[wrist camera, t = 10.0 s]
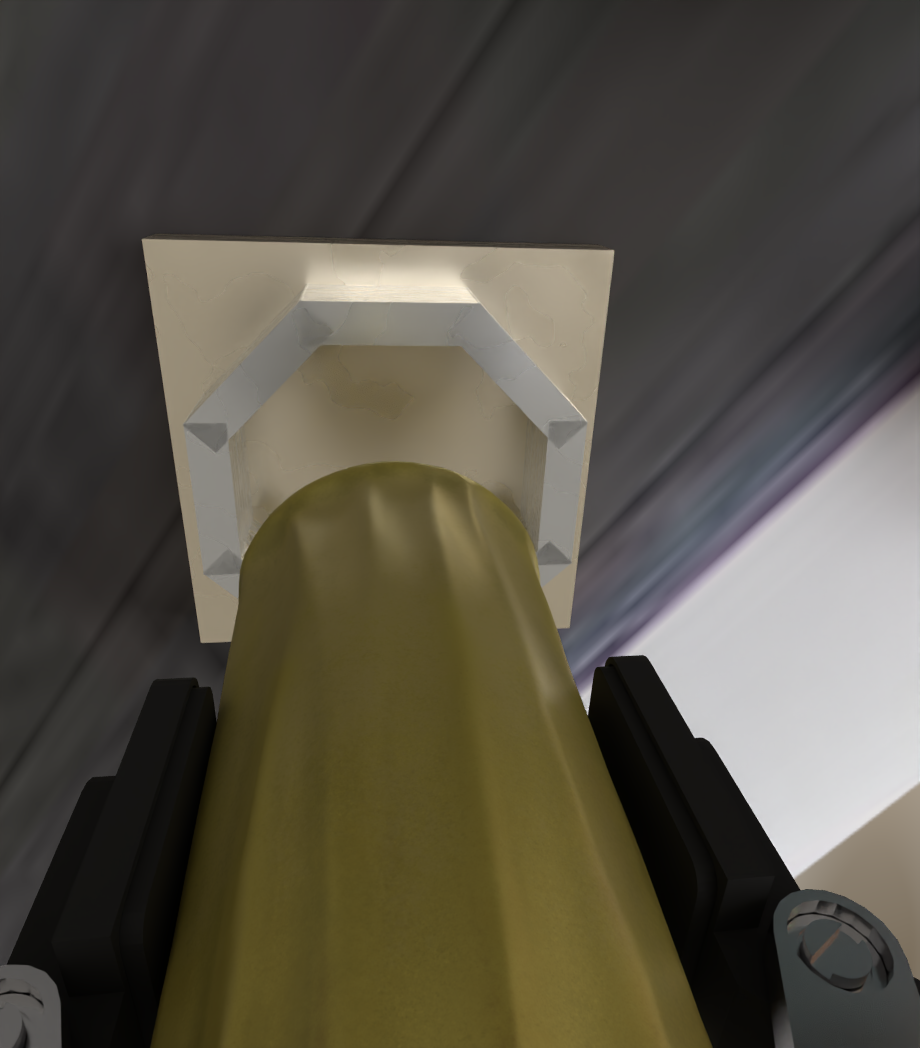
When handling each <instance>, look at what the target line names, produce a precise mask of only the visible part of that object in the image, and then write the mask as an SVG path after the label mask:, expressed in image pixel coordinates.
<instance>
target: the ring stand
mask: <svg viewBox="0 0 920 1048" xmlns="http://www.w3.org/2000/svg"><path fill="white" fill-rule="evenodd" d="M142 243H143V250H144V257H145V264H146V271H147V277H148V284H149V291H150V298H151V305H152V312H153V318H154V325H155V332H156V339H157V346H158V353H159V359H160V366H161V373H162V380H163V387H164V393H165V400H166V407H167V414H168V421H169V428H170V434H171V441H172V448H173V455H174V462H175V469H176V475H177V482H178V489H179V496H180V503H181V510H182V516H183V523H184V530H185V537H186V544H187V551H188V557H189V564H190V571H191V578H192V585H193V592H194V598H195V605H196V612H197V619H198V626H199V633H200V639H201V643H211V642H231V640H232V635H233V630H234V625H235V620H236V615H237V610H238V605H239V602H238V597H239V576H240V568H241V564H242V561H243V557H244V554H245V552H246V551H247V549H248V547H249V545H250V543H251V541H252V540H253V538H254V536H255V535H256V533H257V532H258V530H259V528H260V527H261V526H262V524H263V523H264V522H265V520H266V519H267V518H268V517H269V515H270V514H271V513H272V512H273V511H274V510H275V509H276V508H277V507H278V506H279V505H280V504H282V503H283V502H284V501H285V500H286V499H287V498H288V497H290V496H291V495H292V494H294V493H295V492H296V491H298V490H299V489H301V488H302V487H304V486H306V485H308V484H310V483H311V482H313V481H315V480H317V479H319V478H321V477H324V476H326V475H329V474H331V473H334V472H336V471H339V470H342V469H346V468H349V467H352V466H357V465H361V464H366V463H373V462H381V461H405V462H416V463H422V464H428V465H433V466H438V467H443V468H446V469H449V470H451V471H454V472H457V473H459V474H461V475H464V476H466V477H468V478H470V479H472V480H473V481H475V482H477V483H479V484H480V485H482V486H483V487H485V488H486V489H488V490H489V491H491V492H492V493H493V494H494V495H495V496H497V497H498V498H499V499H500V500H501V501H502V502H503V503H505V504H506V505H507V506H508V507H509V508H510V509H511V510H512V511H513V513H514V514H515V515H516V516H517V518H518V519H519V520H520V521H521V523H522V524H523V526H524V527H525V529H526V530H527V532H528V534H529V536H530V538H531V541H532V543H533V545H534V549H535V552H536V556H537V560H538V566H539V573H540V585H541V587H542V590H543V592H544V595H545V597H546V600H547V602H548V605H549V608H550V610H551V613H552V616H553V619H554V622H555V625H556V628H570V620H571V611H572V603H573V594H574V586H575V578H576V569H577V561H578V553H579V544H580V536H581V527H582V519H583V511H584V502H585V494H586V485H587V477H588V469H589V460H590V452H591V444H592V435H593V427H594V418H595V410H596V402H597V393H598V385H599V376H600V368H601V360H602V351H603V343H604V335H605V326H606V318H607V309H608V301H609V293H610V284H611V276H612V267H613V259H614V251H615V250H612V249H610V248H607V247H604V246H601V245H598V244H559V243H519V242H479V241H439V240H399V239H358V238H318V237H278V236H238V235H197V234H154V235H151V236H149V237H146V238H143V239H142Z"/></svg>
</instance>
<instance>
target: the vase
mask: <svg viewBox="0 0 920 1048" xmlns="http://www.w3.org/2000/svg"><path fill="white" fill-rule="evenodd" d="M238 602H239V605H238V610H237V615H236V620H235V625H234V630H233V635H232V640H231V645H230V651H229V656H228V661H227V667H226V672H225V677H224V683H223V689H222V694H221V700H220V706H219V712H218V719H217V725H216V730H215V734H214V739H213V743H212V748H211V753H210V757H209V762H208V767H207V771H206V776H205V780H204V785H203V790H202V794H201V799H200V804H199V809H198V814H197V819H196V824H195V829H194V834H193V839H192V844H191V849H190V854H189V859H188V864H187V869H186V874H185V880H184V885H183V890H182V895H181V900H180V905H179V911H178V916H177V921H176V926H175V931H174V936H173V941H172V946H171V951H170V956H169V961H168V965H167V970H166V975H165V980H164V984H163V989H162V994H161V998H160V1003H159V1007H158V1012H157V1017H156V1022H155V1027H154V1031H153V1036H152V1041H151V1046H150V1048H713V1047H712V1044H711V1042H710V1039H709V1037H708V1034H707V1032H706V1029H705V1027H704V1024H703V1022H702V1019H701V1017H700V1014H699V1011H698V1008H697V1006H696V1003H695V1000H694V997H693V995H692V992H691V989H690V986H689V983H688V981H687V978H686V975H685V972H684V970H683V967H682V964H681V962H680V959H679V956H678V953H677V951H676V948H675V945H674V942H673V940H672V937H671V934H670V931H669V929H668V926H667V923H666V920H665V918H664V915H663V912H662V909H661V907H660V904H659V901H658V898H657V896H656V893H655V890H654V887H653V885H652V882H651V879H650V876H649V874H648V871H647V868H646V866H645V863H644V860H643V858H642V855H641V852H640V850H639V847H638V844H637V842H636V839H635V836H634V834H633V831H632V829H631V826H630V824H629V821H628V819H627V816H626V814H625V811H624V809H623V807H622V804H621V802H620V799H619V797H618V794H617V792H616V789H615V787H614V785H613V782H612V780H611V777H610V775H609V772H608V769H607V767H606V764H605V761H604V759H603V756H602V753H601V750H600V748H599V745H598V742H597V739H596V737H595V734H594V731H593V729H592V726H591V723H590V721H589V718H588V715H587V713H586V710H585V708H584V705H583V702H582V700H581V697H580V695H579V692H578V689H577V687H576V684H575V682H574V679H573V676H572V673H571V671H570V668H569V665H568V662H567V659H566V656H565V653H564V650H563V646H562V643H561V640H560V637H559V634H558V631H557V628H556V625H555V622H554V619H553V616H552V613H551V610H550V608H549V605H548V602H547V600H546V597H545V595H544V592H543V590H542V587H541V585H540V573H539V566H538V560H537V556H536V552H535V549H534V545H533V543H532V541H531V538H530V536H529V534H528V532H527V530H526V529H525V527H524V526H523V524H522V523H521V521H520V520H519V519H518V518H517V516H516V515H515V514H514V513H513V511H512V510H511V509H510V508H509V507H508V506H507V505H506V504H505V503H503V502H502V501H501V500H500V499H499V498H498V497H497V496H495V495H494V494H493V493H492V492H491V491H489V490H488V489H486V488H485V487H483V486H482V485H480V484H479V483H477V482H475V481H473V480H472V479H470V478H468V477H466V476H464V475H461V474H459V473H457V472H454V471H451V470H449V469H446V468H443V467H438V466H433V465H428V464H422V463H416V462H405V461H381V462H373V463H366V464H361V465H357V466H352V467H349V468H346V469H342V470H339V471H336V472H334V473H331V474H329V475H326V476H324V477H321V478H319V479H317V480H315V481H313V482H311V483H310V484H308V485H306V486H304V487H302V488H301V489H299V490H298V491H296V492H295V493H294V494H292V495H291V496H290V497H288V498H287V499H286V500H285V501H284V502H283V503H282V504H280V505H279V506H278V507H277V508H276V509H275V510H274V511H273V512H272V513H271V514H270V515H269V517H268V518H267V519H266V520H265V522H264V523H263V524H262V526H261V527H260V528H259V530H258V532H257V533H256V535H255V536H254V538H253V540H252V541H251V543H250V545H249V547H248V549H247V551H246V552H245V554H244V557H243V561H242V564H241V568H240V576H239V597H238Z"/></svg>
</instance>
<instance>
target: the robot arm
mask: <svg viewBox="0 0 920 1048" xmlns="http://www.w3.org/2000/svg"><path fill="white" fill-rule="evenodd" d="M588 718H589V721H590V723H591V726H592V729H593V731H594V734H595V737H596V739H597V742H598V745H599V748H600V750H601V753H602V756H603V759H604V761H605V764H606V767H607V769H608V772H609V775H610V777H611V780H612V782H613V785H614V787H615V789H616V792H617V794H618V797H619V799H620V802H621V804H622V807H623V809H624V811H625V814H626V816H627V819H628V821H629V824H630V826H631V829H632V831H633V834H634V836H635V839H636V842H637V844H638V847H639V850H640V852H641V855H642V858H643V860H644V863H645V866H646V868H647V871H648V874H649V876H650V879H651V882H652V885H653V887H654V890H655V893H656V896H657V898H658V901H659V904H660V907H661V909H662V912H663V915H664V918H665V920H666V923H667V926H668V929H669V931H670V934H671V937H672V940H673V942H674V945H675V948H676V951H677V953H678V956H679V959H680V962H681V964H682V967H683V970H684V972H685V975H686V978H687V981H688V983H689V986H690V989H691V992H692V995H693V997H694V1000H695V1003H696V1006H697V1008H698V1011H699V1014H700V1017H701V1019H702V1022H703V1024H704V1027H705V1029H706V1032H707V1034H708V1037H709V1039H710V1042H711V1044H712V1047H713V1048H920V980H918V979H916V978H914V977H913V975H912V972H911V969H910V967H909V964H908V960H907V958H906V956H905V954H904V952H903V950H902V948H901V946H900V944H899V942H898V940H897V939H896V938H895V936H894V935H893V934H892V933H891V932H890V930H889V929H888V928H887V927H886V926H885V924H884V923H883V922H882V921H881V920H879V919H878V918H877V917H876V916H874V915H873V914H872V913H871V912H870V911H868V910H867V909H866V908H865V907H862V906H861V905H859V904H857V903H855V902H854V901H852V900H850V899H848V898H846V897H844V896H841V895H838V894H835V893H832V892H828V891H825V890H812V889H805V890H800V889H799V887H798V885H797V884H796V882H795V880H794V879H793V877H792V875H791V874H790V872H789V870H788V869H787V867H786V865H785V864H784V862H783V861H782V859H781V857H780V856H779V854H778V852H777V851H776V849H775V847H774V846H773V844H772V842H771V841H770V839H769V837H768V836H767V834H766V833H765V831H764V829H763V828H762V826H761V824H760V823H759V821H758V819H757V818H756V816H755V814H754V813H753V811H752V809H751V808H750V806H749V805H748V803H747V801H746V800H745V798H744V796H743V795H742V793H741V791H740V790H739V788H738V786H737V785H736V783H735V781H734V780H733V778H732V777H731V775H730V773H729V772H728V770H727V768H726V767H725V765H724V763H723V762H722V760H721V758H720V757H719V755H718V753H717V752H716V750H715V749H714V747H713V746H712V745H711V744H710V742H709V741H707V740H706V739H704V738H694V736H693V735H692V733H691V731H690V729H689V728H688V726H687V724H686V723H685V721H684V719H683V717H682V716H681V714H680V712H679V711H678V709H677V707H676V705H675V704H674V702H673V700H672V699H671V697H670V695H669V693H668V692H667V690H666V688H665V687H664V685H663V683H662V681H661V680H660V678H659V676H658V675H657V673H656V671H655V669H654V668H653V666H652V664H651V663H650V661H649V660H648V658H647V657H646V656H643V655H639V656H619V657H609V658H608V659H607V661H606V663H605V667H597V668H596V669H595V672H594V677H593V684H592V691H591V698H590V705H589V712H588ZM216 725H217V722H216V715H215V708H214V701H213V694H212V690H211V688H210V687H199V685H198V681H197V679H196V678H176V679H156V680H155V681H153V683H152V685H151V687H150V690H149V692H148V695H147V697H146V700H145V703H144V705H143V708H142V710H141V713H140V715H139V718H138V721H137V723H136V726H135V728H134V731H133V733H132V736H131V738H130V741H129V744H128V746H127V749H126V751H125V754H124V756H123V759H122V762H121V764H120V767H119V769H118V772H117V774H116V776H106V777H92V778H91V779H90V780H89V781H88V782H87V783H86V785H85V787H84V789H83V790H82V792H81V795H80V797H79V799H78V802H77V804H76V806H75V809H74V811H73V813H72V815H71V818H70V820H69V822H68V825H67V827H66V829H65V832H64V834H63V836H62V839H61V841H60V843H59V845H58V848H57V850H56V852H55V855H54V857H53V859H52V862H51V864H50V866H49V868H48V871H47V873H46V875H45V878H44V880H43V882H42V885H41V887H40V889H39V892H38V894H37V896H36V898H35V901H34V903H33V905H32V908H31V910H30V912H29V915H28V917H27V919H26V921H25V924H24V926H23V928H22V931H21V933H20V935H19V938H18V940H17V942H16V944H15V947H14V949H13V951H12V954H11V956H10V958H9V961H8V963H7V965H5V966H0V1048H150V1046H151V1041H152V1036H153V1031H154V1027H155V1022H156V1017H157V1012H158V1007H159V1003H160V998H161V994H162V989H163V984H164V980H165V975H166V970H167V965H168V961H169V956H170V951H171V946H172V941H173V936H174V931H175V926H176V921H177V916H178V911H179V905H180V900H181V895H182V890H183V885H184V880H185V874H186V869H187V864H188V859H189V854H190V849H191V844H192V839H193V834H194V829H195V824H196V819H197V814H198V809H199V804H200V799H201V794H202V790H203V785H204V780H205V776H206V771H207V767H208V762H209V757H210V753H211V748H212V743H213V739H214V734H215V730H216Z"/></svg>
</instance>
